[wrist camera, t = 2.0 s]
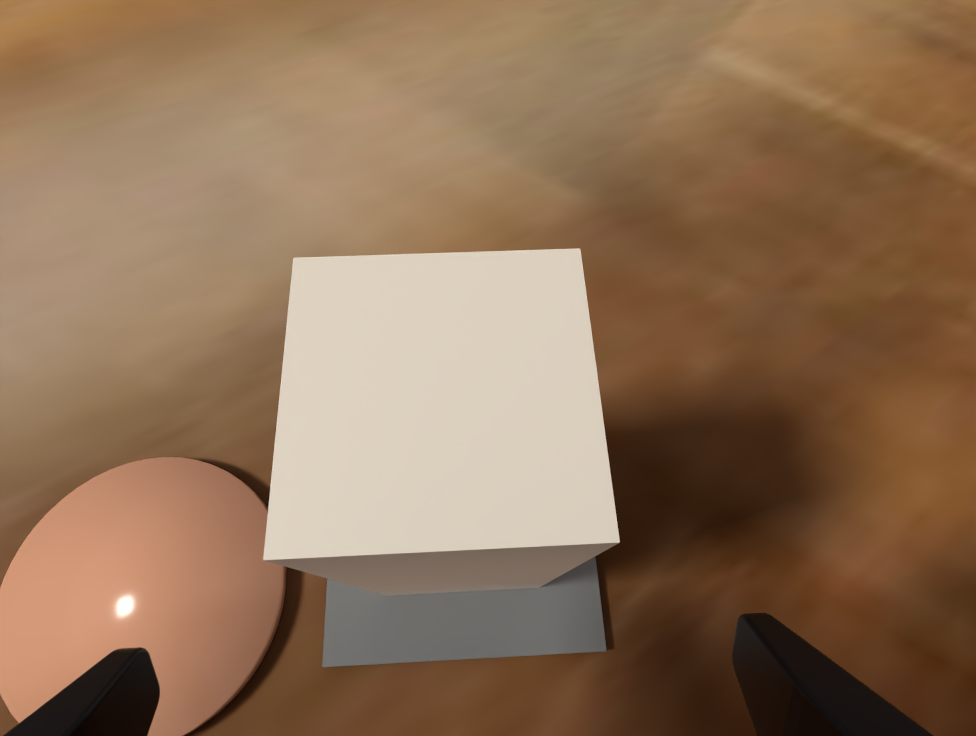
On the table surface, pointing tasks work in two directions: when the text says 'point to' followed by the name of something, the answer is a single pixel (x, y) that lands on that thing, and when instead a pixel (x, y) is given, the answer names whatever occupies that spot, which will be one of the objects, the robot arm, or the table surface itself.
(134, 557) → the peach dome
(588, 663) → the table surface
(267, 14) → the table surface
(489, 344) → the ivory block
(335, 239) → the table surface
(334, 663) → the gray tile
